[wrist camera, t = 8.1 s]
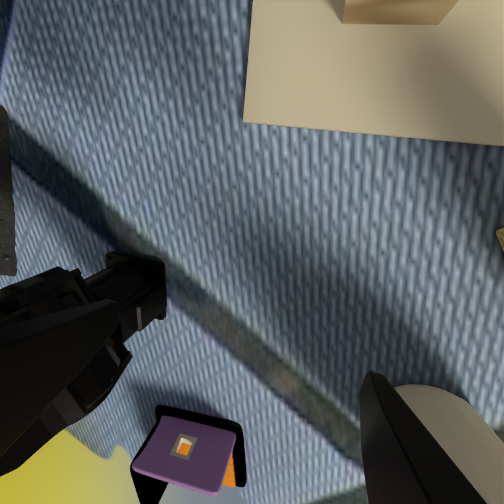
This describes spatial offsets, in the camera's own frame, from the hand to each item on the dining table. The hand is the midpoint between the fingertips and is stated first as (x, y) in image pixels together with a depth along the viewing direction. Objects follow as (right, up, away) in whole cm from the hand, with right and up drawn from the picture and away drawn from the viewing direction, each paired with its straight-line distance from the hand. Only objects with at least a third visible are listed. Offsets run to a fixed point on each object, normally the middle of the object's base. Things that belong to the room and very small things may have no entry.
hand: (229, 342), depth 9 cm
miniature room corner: (-6, -22, +25) cm, 34 cm away
